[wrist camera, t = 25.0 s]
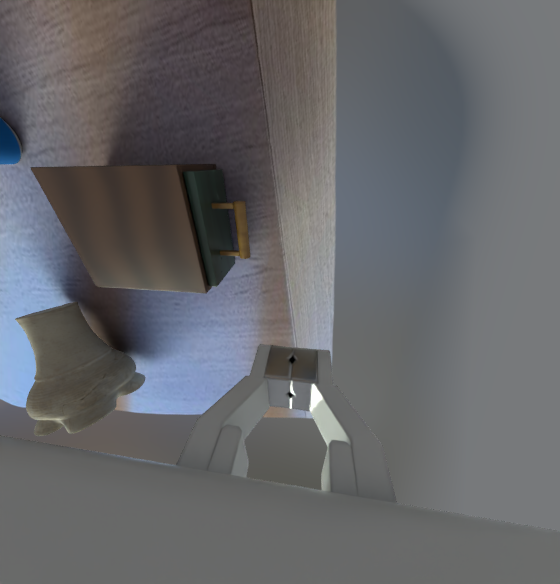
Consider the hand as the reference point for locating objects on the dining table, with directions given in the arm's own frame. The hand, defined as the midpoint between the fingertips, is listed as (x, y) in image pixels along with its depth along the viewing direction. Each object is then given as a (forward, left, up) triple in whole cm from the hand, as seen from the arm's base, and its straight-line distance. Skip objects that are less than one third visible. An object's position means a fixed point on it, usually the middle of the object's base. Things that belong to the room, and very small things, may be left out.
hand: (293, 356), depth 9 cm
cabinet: (+21, 0, -25) cm, 33 cm away
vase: (+47, +27, -25) cm, 60 cm away
